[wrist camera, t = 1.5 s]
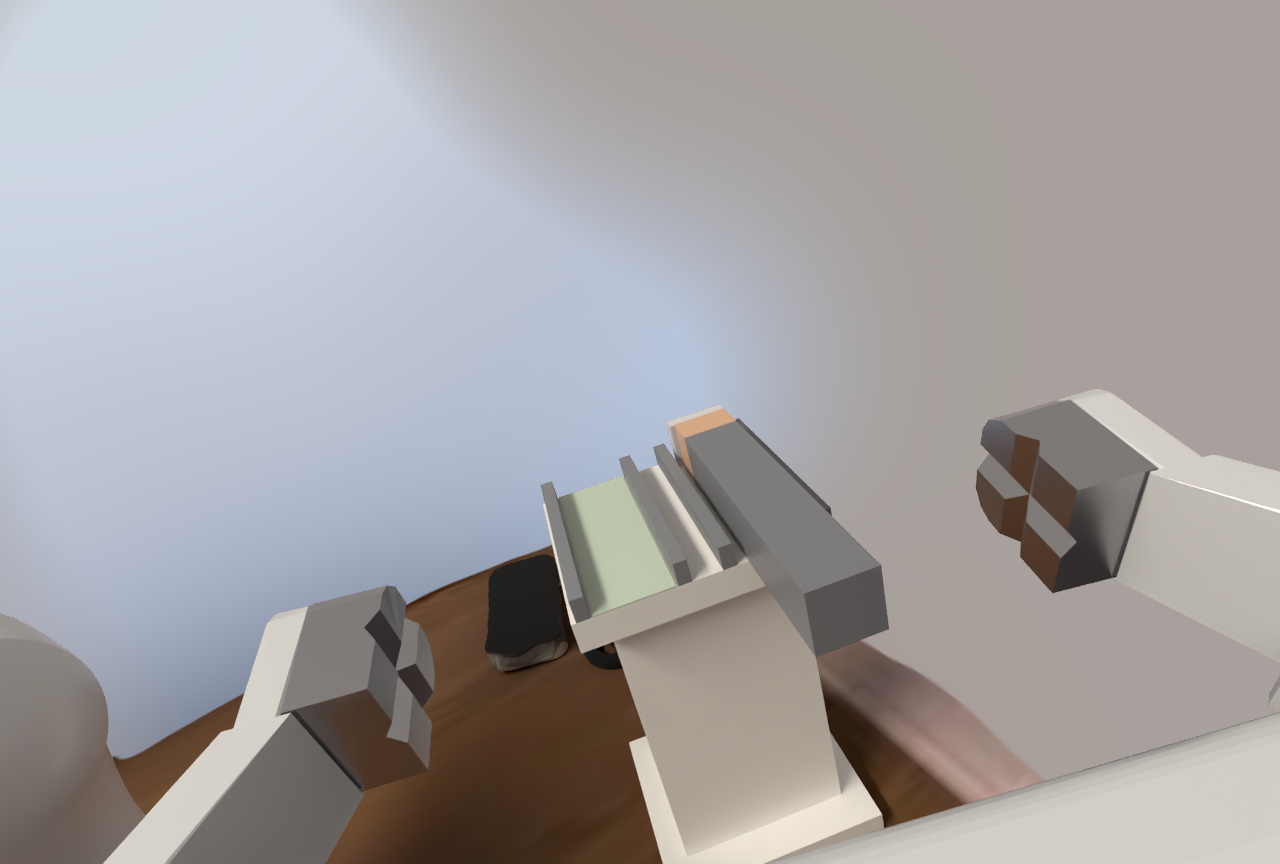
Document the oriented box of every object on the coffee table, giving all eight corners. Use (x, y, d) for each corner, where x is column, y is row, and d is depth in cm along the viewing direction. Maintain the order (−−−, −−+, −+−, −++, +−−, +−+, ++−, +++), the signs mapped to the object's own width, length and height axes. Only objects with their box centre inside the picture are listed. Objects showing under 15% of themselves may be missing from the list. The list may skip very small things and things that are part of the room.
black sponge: (498, 592, 88) (488, 569, 86) (562, 572, 88) (554, 548, 87) (494, 686, 73) (482, 660, 71) (572, 661, 73) (562, 635, 72)
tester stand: (678, 914, 48) (553, 577, 36) (633, 754, 61) (529, 465, 48) (884, 828, 50) (831, 479, 38) (798, 690, 62) (738, 396, 50)
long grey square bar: (815, 657, 31) (803, 593, 30) (685, 469, 49) (674, 424, 48) (888, 628, 31) (880, 565, 30) (733, 453, 50) (723, 408, 48)
